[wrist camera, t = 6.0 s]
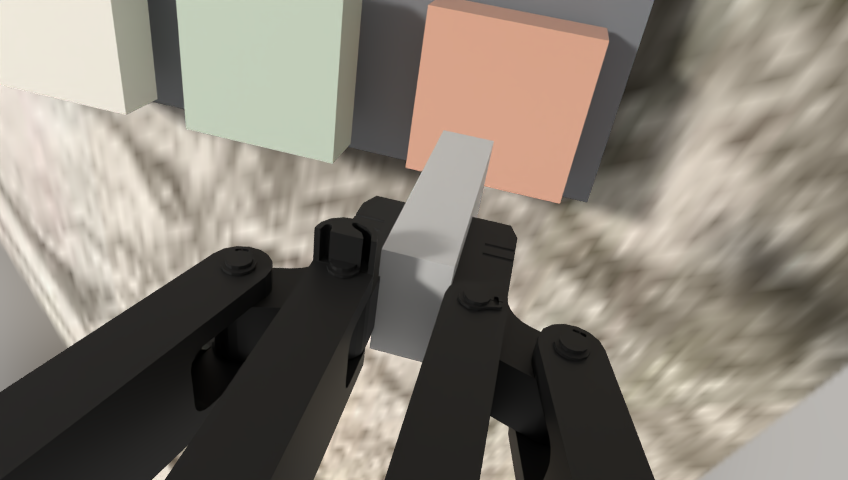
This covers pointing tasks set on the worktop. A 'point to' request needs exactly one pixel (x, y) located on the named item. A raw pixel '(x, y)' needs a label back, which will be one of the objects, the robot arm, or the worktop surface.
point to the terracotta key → (507, 90)
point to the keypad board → (400, 60)
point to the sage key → (271, 72)
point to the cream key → (79, 51)
